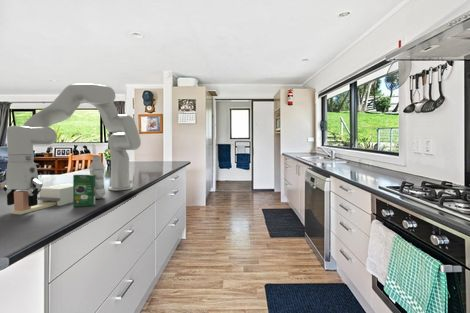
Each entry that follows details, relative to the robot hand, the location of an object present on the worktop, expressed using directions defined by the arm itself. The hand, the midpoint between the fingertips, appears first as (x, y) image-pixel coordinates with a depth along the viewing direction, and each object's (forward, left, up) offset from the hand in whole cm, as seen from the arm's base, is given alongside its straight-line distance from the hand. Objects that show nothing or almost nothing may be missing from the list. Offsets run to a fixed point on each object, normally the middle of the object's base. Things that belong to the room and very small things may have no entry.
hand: (22, 205), depth 103 cm
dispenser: (-19, 0, -3) cm, 19 cm away
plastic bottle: (-28, +10, -3) cm, 30 cm away
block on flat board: (-7, 0, -3) cm, 8 cm away
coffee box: (-14, +15, -3) cm, 21 cm away
